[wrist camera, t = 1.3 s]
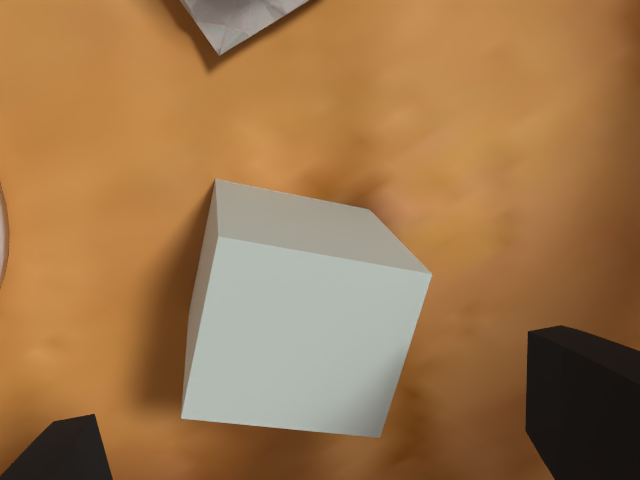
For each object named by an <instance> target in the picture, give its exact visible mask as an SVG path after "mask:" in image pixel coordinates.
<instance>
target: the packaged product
mask: <svg viewBox="0 0 640 480" xmlns="http://www.w3.org/2000/svg"><path fill="white" fill-rule="evenodd" d="M308 1H309V0H180V2H181V3H182V4H183V6H184V7H185V9H186V10H187V11H188V13H189V14H190V15H191V17H192V18H193V20H194V21H195V22H196V24H197V25H198V27H199V28H200V29H201V31H202V32H203V34H204V35H205V36H206V38H207V39H208V41H209V42H210V44H211V45H212V46H213V48H214V49H215V51H216V52H217V53H218V55H219V56H220V55H222V54H223V53H225V52H226V51H228V50H229V49H231V48H233V47H234V46H236V45H238V44H239V43H241V42H242V41H244V40H246V39H247V38H249V37H251V36H252V35H254V34H255V33H257V32H259V31H260V30H262V29H264V28H265V27H267V26H268V25H270V24H272V23H273V22H275V21H277V20H278V19H280V18H281V17H283V16H285V15H286V14H288V13H290V12H291V11H293V10H295V9H296V8H298V7H299V6H301V5H303V4H304V3H306V2H308Z"/></svg>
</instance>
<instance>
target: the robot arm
mask: <svg viewBox="0 0 640 480" xmlns="http://www.w3.org/2000/svg"><path fill="white" fill-rule="evenodd" d="M526 432H527V434H528V436H529V437H530V439H531V441H532V443H533V444H534V446H535V448H536V449H537V451H538V453H539V455H540V456H541V458H542V460H543V461H544V463H545V464H546V466H547V468H548V469H549V471H550V472H551V474H552V476H553V477H554V479H555V480H640V351H637V350H635V349H632V348H629V347H626V346H624V345H621V344H618V343H615V342H612V341H610V340H607V339H604V338H601V337H598V336H595V335H592V334H589V333H586V332H583V331H580V330H577V329H573V328H569V327H565V326H561V325H560V326H555V327H549V328H544V329H539V330H534V331H528V350H527V391H526ZM0 480H113V479H112V475H111V472H110V468H109V464H108V461H107V457H106V454H105V450H104V446H103V443H102V439H101V435H100V432H99V428H98V425H97V421H96V417H95V414H91V415H86V416H81V417H76V418H70V419H65V420H60V421H54V422H53V423H52V424H51V425H49V426H48V427H47V428H46V429H45V430H44V431H43V432H42V433H41V434H40V435H39V436H38V437H37V438H36V439H35V440H34V441H33V442H32V443H31V444H30V446H29V447H28V448H27V449H26V450H25V451H24V452H23V453H22V454H21V455H20V456H19V457H18V458H17V459H16V460H15V461H14V462H13V463H12V464H11V466H10V467H9V468H8V469H7V470H6V471H5V472H4V473H3V474H2V475H1V476H0Z"/></svg>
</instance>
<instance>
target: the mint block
mask: <svg viewBox="0 0 640 480" xmlns="http://www.w3.org/2000/svg"><path fill="white" fill-rule="evenodd" d="M431 277H432V273H431V272H430V271H429V270H428V269H427V268H426V267H425V266H424V265H423V264H422V263H421V262H420V261H419V260H418V259H417V258H416V257H415V256H414V255H413V254H412V253H411V252H410V251H409V250H408V249H407V248H406V247H405V246H404V245H403V244H402V243H401V241H400V240H399V239H398V238H397V237H396V236H395V235H394V234H393V233H392V232H391V231H390V230H389V229H388V228H387V227H386V226H385V225H384V224H383V223H382V222H381V221H380V220H379V219H378V218H377V217H376V216H375V215H374V214H373V213H372V212H371V211H370V210H369V209H364V208H359V207H354V206H349V205H344V204H339V203H334V202H329V201H324V200H319V199H314V198H309V197H304V196H299V195H294V194H289V193H284V192H279V191H274V190H269V189H264V188H259V187H254V186H249V185H244V184H239V183H234V182H229V181H225V180H220V179H215V184H214V189H213V194H212V199H211V204H210V209H209V214H208V219H207V224H206V229H205V234H204V239H203V244H202V249H201V254H200V259H199V264H198V269H197V275H196V280H195V285H194V290H193V295H192V300H191V305H190V310H189V317H188V330H187V344H186V357H185V370H184V384H183V397H182V410H181V419H191V420H201V421H212V422H222V423H232V424H242V425H253V426H263V427H273V428H283V429H293V430H304V431H314V432H324V433H334V434H344V435H355V436H365V437H375V438H380V437H381V433H382V430H383V427H384V424H385V421H386V418H387V415H388V412H389V408H390V405H391V402H392V399H393V396H394V393H395V390H396V386H397V383H398V380H399V377H400V374H401V371H402V368H403V365H404V361H405V358H406V355H407V352H408V349H409V346H410V343H411V340H412V336H413V333H414V330H415V327H416V324H417V321H418V318H419V314H420V311H421V308H422V305H423V302H424V299H425V296H426V293H427V289H428V286H429V283H430V280H431Z"/></svg>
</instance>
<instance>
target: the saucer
mask: <svg viewBox="0 0 640 480" xmlns="http://www.w3.org/2000/svg"><path fill="white" fill-rule="evenodd" d="M8 255H9V222H8V214H7V206H6V202H5V198H4V194H3V191H2V187H1V183H0V288H1V285H2V282H3V279H4V277H5V272H6V266H7V261H8Z"/></svg>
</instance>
